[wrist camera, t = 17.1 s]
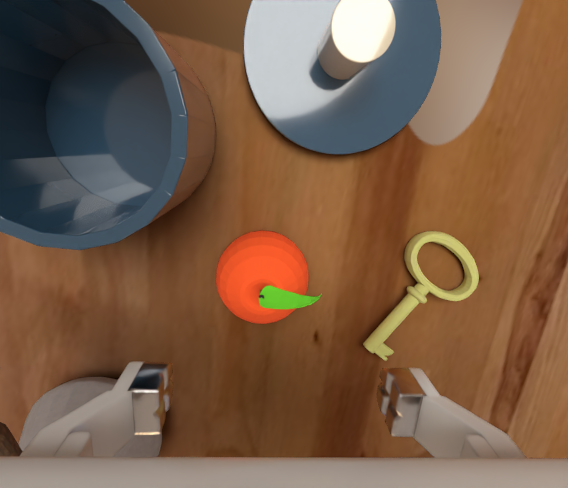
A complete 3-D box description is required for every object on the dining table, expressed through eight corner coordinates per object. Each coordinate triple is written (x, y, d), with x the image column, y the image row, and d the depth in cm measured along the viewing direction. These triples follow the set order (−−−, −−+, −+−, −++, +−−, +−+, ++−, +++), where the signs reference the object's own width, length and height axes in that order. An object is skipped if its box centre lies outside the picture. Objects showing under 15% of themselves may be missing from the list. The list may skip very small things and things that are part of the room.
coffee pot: (167, 461, 34) (94, 694, 20) (49, 453, 33) (-120, 692, 18) (182, 268, 28) (93, 395, 14) (39, 250, 27) (-220, 368, 13)
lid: (427, -80, 22) (486, -163, 16) (438, 135, 26) (489, 131, 20) (223, -38, 22) (207, -105, 16) (265, 169, 26) (265, 176, 20)
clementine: (324, 234, 28) (343, 262, 21) (304, 307, 30) (315, 355, 23) (230, 213, 27) (218, 235, 20) (215, 289, 29) (199, 334, 22)
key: (355, 341, 31) (361, 355, 29) (416, 221, 28) (428, 227, 26) (421, 364, 32) (431, 378, 30) (487, 250, 29) (504, 258, 27)
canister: (189, 14, 23) (138, -72, 14) (233, 196, 27) (216, 222, 17) (9, 52, 23) (-160, -9, 14) (77, 228, 27) (-20, 270, 18)
